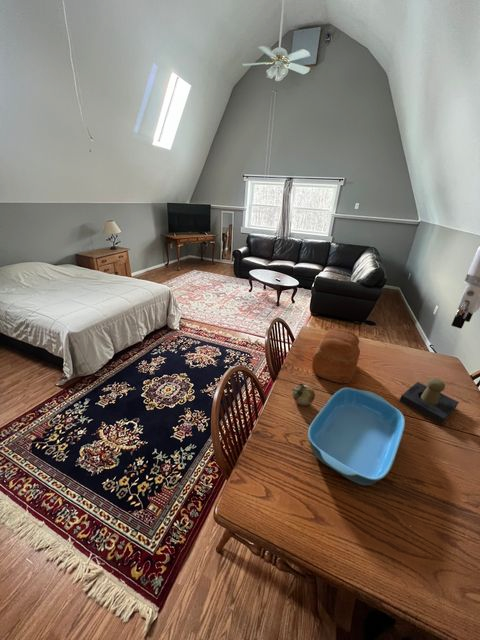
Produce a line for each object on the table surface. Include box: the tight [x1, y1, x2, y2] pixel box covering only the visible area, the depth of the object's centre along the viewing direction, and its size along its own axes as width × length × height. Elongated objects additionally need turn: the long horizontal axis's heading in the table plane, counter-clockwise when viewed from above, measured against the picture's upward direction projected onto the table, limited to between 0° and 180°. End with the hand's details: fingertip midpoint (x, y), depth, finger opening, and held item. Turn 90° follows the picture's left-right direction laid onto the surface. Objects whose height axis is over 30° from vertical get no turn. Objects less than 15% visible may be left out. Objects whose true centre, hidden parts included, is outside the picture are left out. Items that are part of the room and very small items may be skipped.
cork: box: [420, 377, 446, 406], centre depth 98 cm, size 6×6×11 cm
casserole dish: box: [307, 387, 406, 486], centre depth 82 cm, size 37×22×7 cm, turn 141°
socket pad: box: [399, 381, 460, 426], centre depth 99 cm, size 14×14×3 cm
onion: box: [291, 382, 316, 406], centre depth 97 cm, size 8×8×8 cm
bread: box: [311, 328, 361, 384], centre depth 115 cm, size 18×22×17 cm
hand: (460, 323), depth 102 cm, fingers open, 9 cm apart
